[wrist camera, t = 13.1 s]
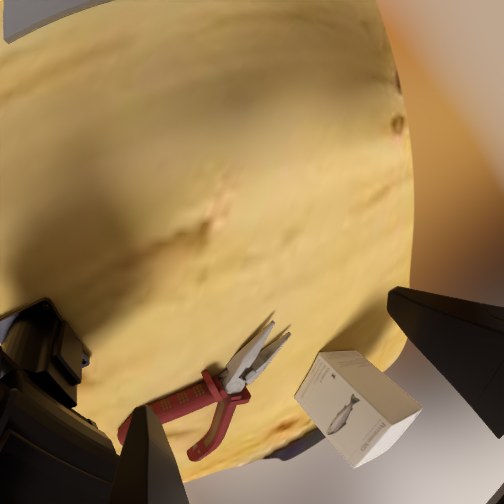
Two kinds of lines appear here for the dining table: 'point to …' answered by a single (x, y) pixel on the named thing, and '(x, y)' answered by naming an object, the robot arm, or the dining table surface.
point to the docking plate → (38, 14)
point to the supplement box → (355, 405)
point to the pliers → (217, 393)
